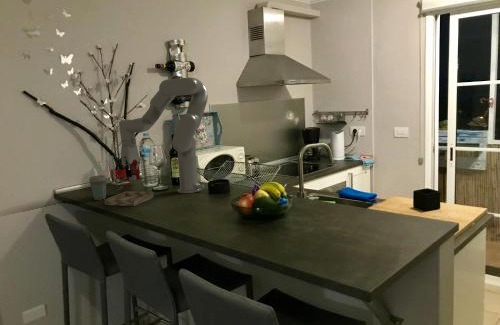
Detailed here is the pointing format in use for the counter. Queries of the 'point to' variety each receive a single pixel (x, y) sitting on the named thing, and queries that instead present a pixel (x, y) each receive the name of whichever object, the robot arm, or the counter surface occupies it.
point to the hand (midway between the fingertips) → (133, 175)
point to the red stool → (134, 172)
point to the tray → (129, 198)
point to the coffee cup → (98, 187)
